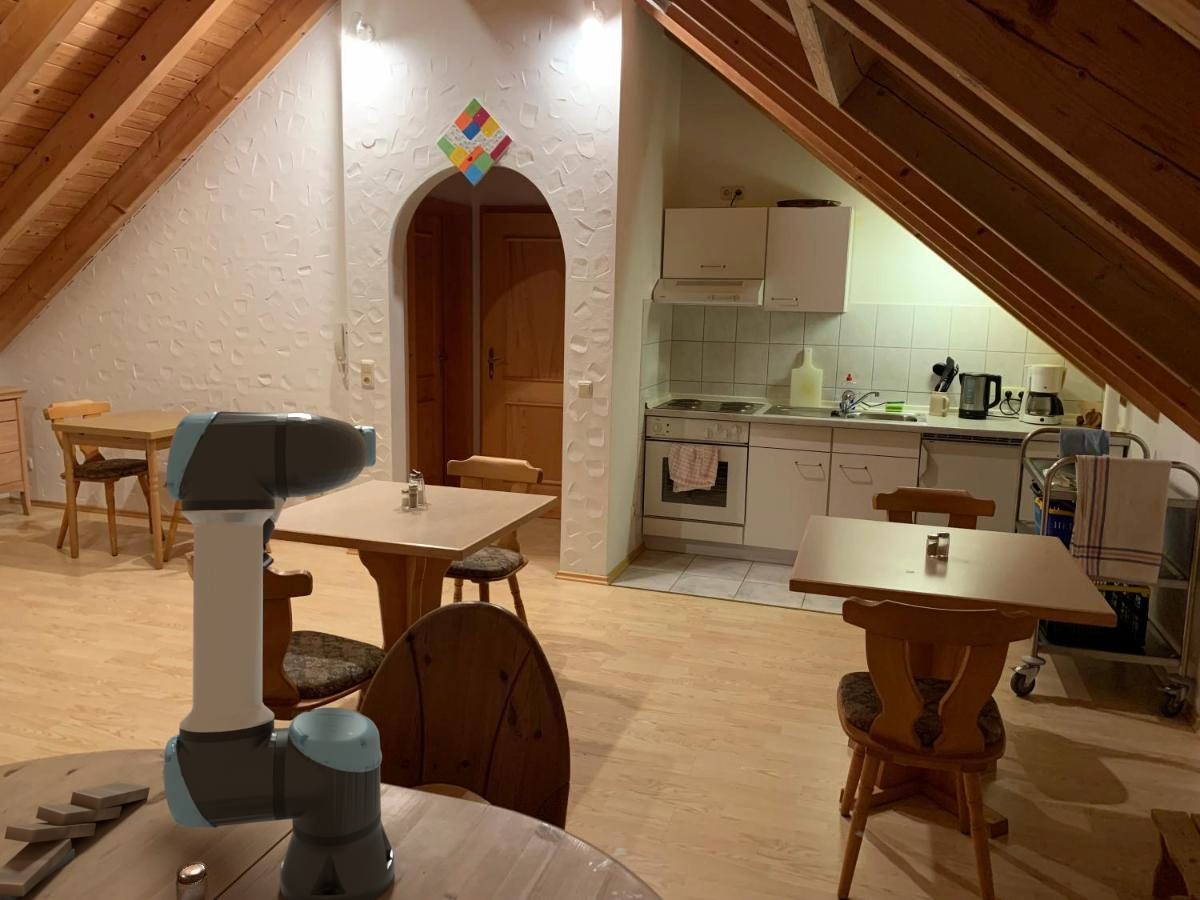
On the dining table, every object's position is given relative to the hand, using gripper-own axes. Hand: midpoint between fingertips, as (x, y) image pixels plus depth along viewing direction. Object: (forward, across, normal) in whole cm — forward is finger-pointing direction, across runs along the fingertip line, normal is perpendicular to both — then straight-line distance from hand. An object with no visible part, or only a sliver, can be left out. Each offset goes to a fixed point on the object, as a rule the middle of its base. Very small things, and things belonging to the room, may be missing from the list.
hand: (202, 641), depth 152 cm
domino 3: (+35, +1, +9) cm, 36 cm away
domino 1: (+31, +1, +6) cm, 32 cm away
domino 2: (+34, +1, +11) cm, 36 cm away
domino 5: (+24, +2, -2) cm, 24 cm away
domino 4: (+28, +2, +2) cm, 28 cm away
